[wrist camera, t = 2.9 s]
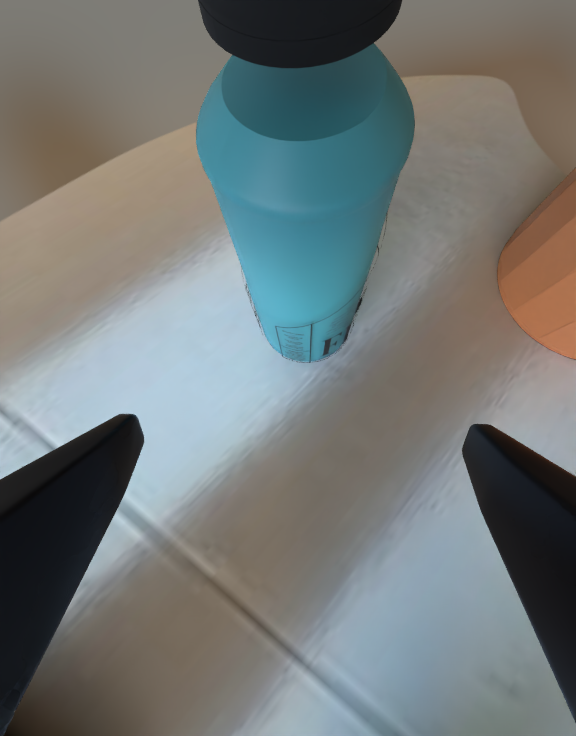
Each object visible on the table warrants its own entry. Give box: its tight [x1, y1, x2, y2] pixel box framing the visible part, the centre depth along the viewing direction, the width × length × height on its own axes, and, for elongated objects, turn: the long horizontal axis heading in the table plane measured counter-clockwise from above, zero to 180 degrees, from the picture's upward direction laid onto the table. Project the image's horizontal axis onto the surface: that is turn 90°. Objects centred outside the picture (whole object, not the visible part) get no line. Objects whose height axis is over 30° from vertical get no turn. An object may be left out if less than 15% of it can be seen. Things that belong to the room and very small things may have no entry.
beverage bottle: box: [196, 0, 415, 363], centre depth 14 cm, size 6×7×20 cm
